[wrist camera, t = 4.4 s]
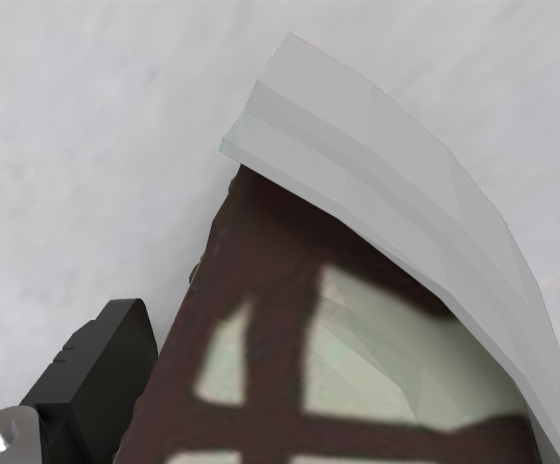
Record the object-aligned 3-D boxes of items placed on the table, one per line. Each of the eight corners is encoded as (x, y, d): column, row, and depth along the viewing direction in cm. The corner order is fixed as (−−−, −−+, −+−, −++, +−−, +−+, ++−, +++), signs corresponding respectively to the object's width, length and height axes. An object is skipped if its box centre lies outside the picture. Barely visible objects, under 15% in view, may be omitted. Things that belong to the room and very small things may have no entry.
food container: (314, 423, 17) (300, 871, 8) (161, 360, 17) (-34, 771, 8) (525, 127, 12) (1115, 471, 3) (313, 18, 11) (260, 45, 2)
